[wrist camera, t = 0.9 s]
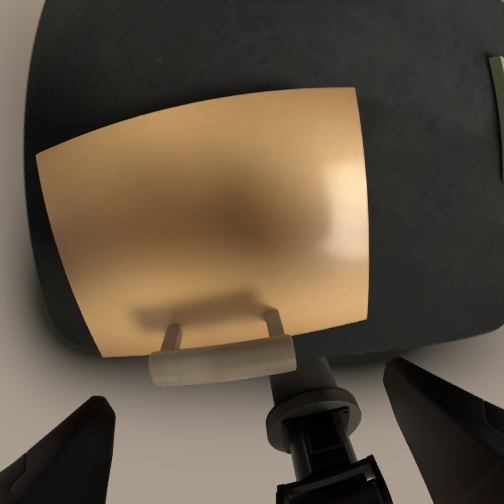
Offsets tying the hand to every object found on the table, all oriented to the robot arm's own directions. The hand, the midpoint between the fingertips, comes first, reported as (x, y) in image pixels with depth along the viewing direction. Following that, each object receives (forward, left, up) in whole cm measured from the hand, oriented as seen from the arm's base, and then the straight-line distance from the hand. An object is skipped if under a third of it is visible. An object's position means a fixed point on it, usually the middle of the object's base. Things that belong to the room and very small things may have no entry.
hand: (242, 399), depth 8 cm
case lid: (+3, +1, -7) cm, 8 cm away
